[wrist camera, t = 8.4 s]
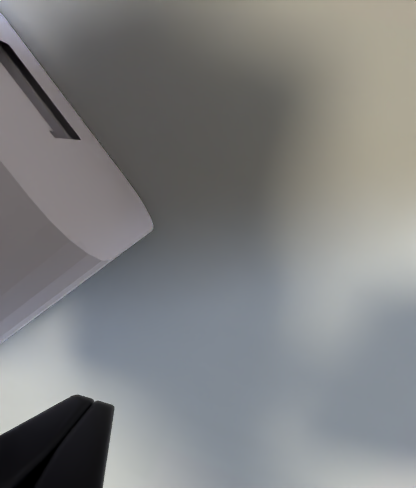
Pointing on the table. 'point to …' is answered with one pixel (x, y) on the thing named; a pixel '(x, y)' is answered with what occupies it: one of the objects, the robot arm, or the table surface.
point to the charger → (53, 193)
